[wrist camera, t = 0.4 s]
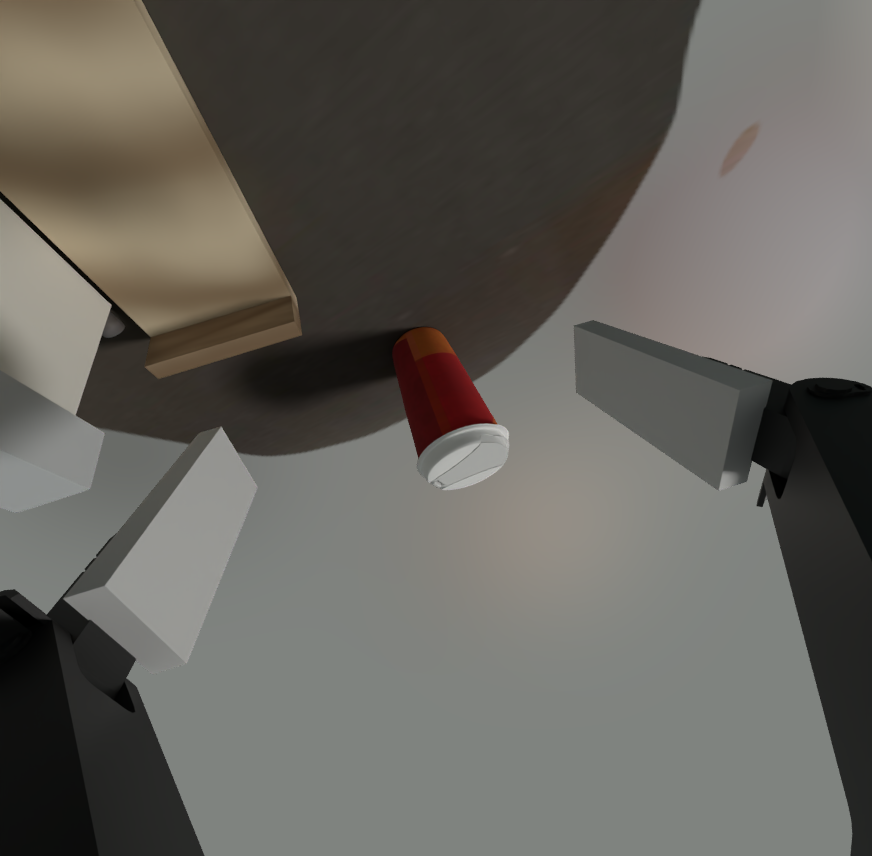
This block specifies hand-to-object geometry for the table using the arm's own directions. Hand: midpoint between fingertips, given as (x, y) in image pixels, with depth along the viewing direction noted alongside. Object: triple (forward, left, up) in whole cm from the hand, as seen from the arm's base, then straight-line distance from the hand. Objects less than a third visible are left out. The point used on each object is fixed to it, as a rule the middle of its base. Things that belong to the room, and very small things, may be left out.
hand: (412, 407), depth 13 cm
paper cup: (+15, +3, -18) cm, 24 cm away
